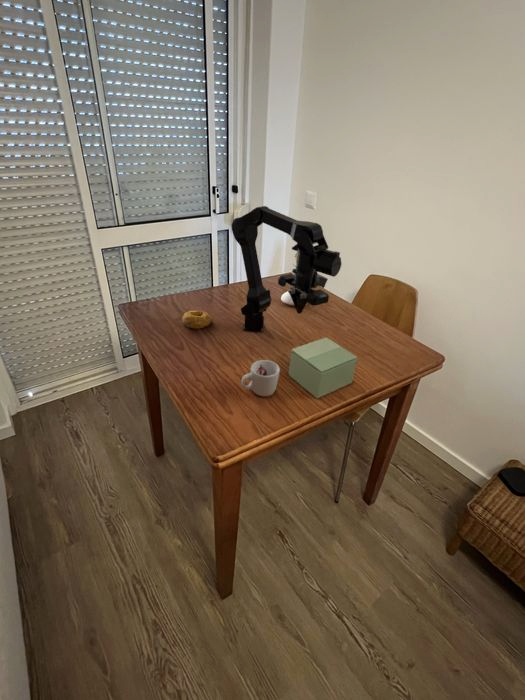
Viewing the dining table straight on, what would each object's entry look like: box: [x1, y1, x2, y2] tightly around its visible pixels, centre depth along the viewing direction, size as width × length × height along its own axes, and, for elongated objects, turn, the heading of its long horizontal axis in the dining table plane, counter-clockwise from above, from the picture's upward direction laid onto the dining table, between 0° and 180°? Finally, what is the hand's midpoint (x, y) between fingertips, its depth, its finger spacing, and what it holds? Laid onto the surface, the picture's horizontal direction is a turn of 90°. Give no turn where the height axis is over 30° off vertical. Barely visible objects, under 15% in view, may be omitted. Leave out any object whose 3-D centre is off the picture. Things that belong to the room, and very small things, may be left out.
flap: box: [291, 336, 342, 361], centre depth 103 cm, size 6×14×1 cm, turn 125°
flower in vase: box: [280, 251, 298, 307], centre depth 145 cm, size 13×11×25 cm
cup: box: [240, 359, 281, 397], centre depth 97 cm, size 11×8×8 cm
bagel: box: [181, 310, 213, 330], centre depth 130 cm, size 10×11×5 cm
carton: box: [288, 346, 358, 399], centre depth 104 cm, size 13×14×9 cm
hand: (299, 313), depth 115 cm, fingers closed
